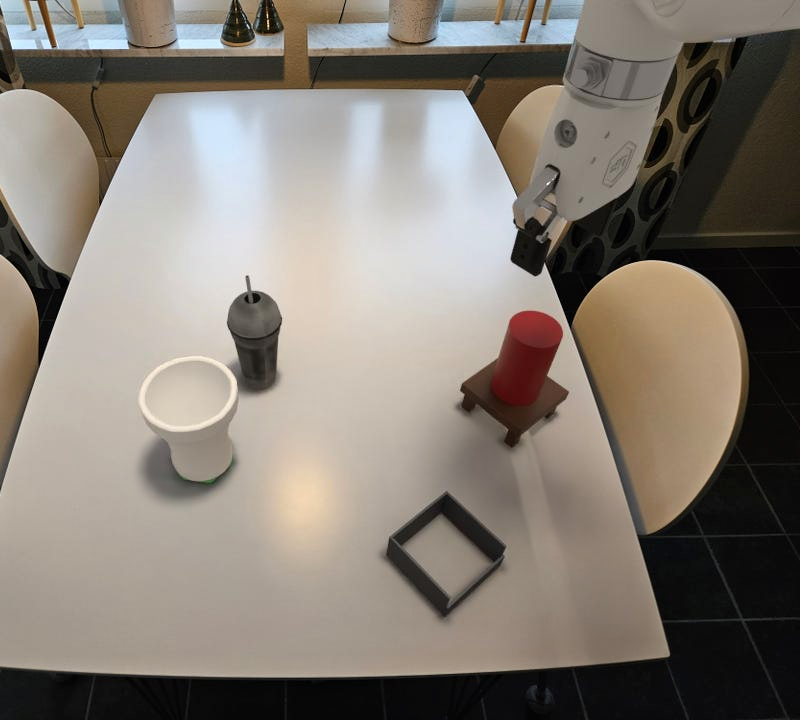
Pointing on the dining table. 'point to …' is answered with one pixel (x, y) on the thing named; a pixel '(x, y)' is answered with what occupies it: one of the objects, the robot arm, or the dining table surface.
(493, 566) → the dark square frame
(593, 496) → the dining table surface
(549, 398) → the stool
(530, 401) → the can
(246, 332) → the beverage cup
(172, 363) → the cup
